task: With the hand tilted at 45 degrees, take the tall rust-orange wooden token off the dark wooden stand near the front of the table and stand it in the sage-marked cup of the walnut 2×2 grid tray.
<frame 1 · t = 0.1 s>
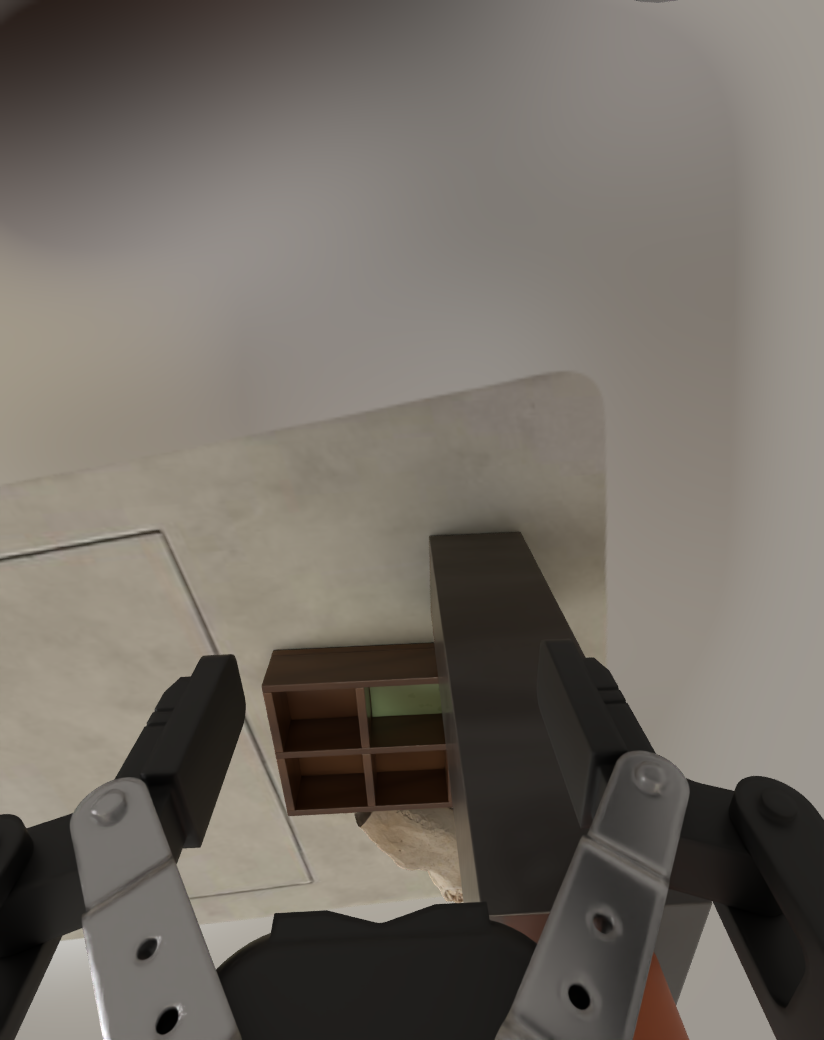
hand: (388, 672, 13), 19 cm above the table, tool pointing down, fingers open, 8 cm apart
grid: (368, 712, 39), on the table
bone fragment: (424, 819, 45), on the table
stand: (474, 573, 34), on the table
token: (585, 972, 14), point 22 cm above the table, touching stand
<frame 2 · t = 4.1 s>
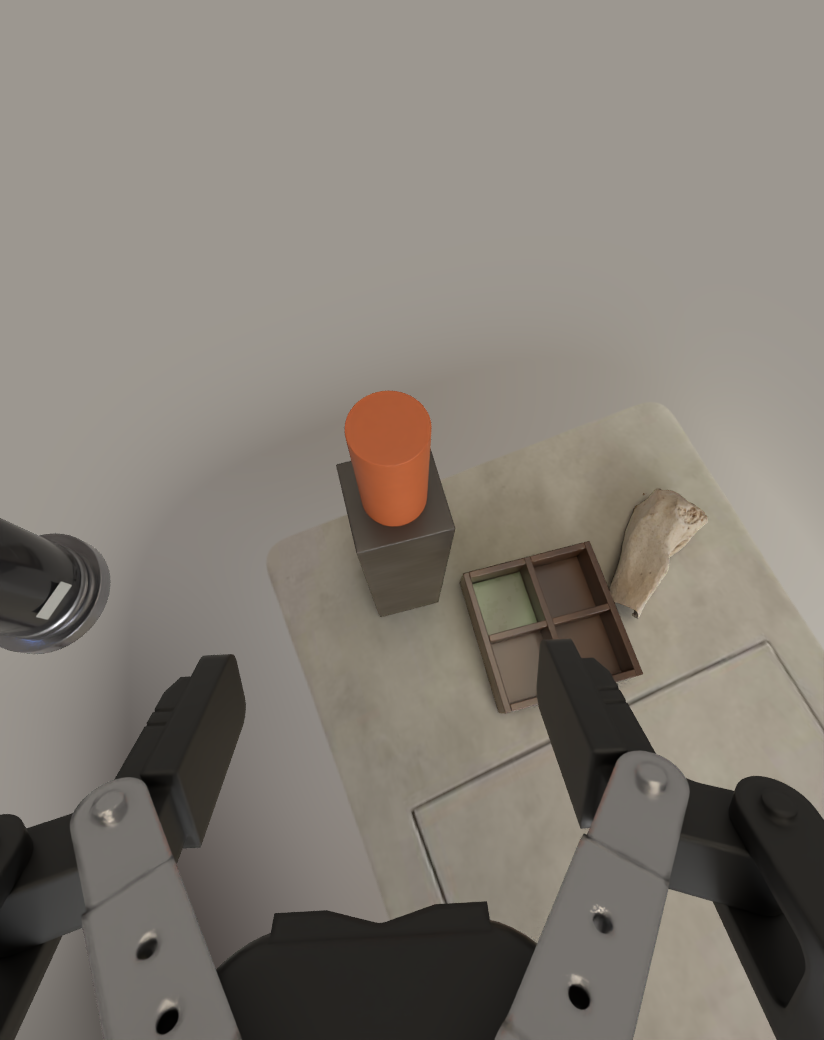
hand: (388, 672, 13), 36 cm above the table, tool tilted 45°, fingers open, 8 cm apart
grid: (540, 627, 50), on the table
bone fragment: (646, 558, 52), on the table
stand: (402, 581, 51), on the table
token: (394, 495, 31), point 22 cm above the table, touching stand
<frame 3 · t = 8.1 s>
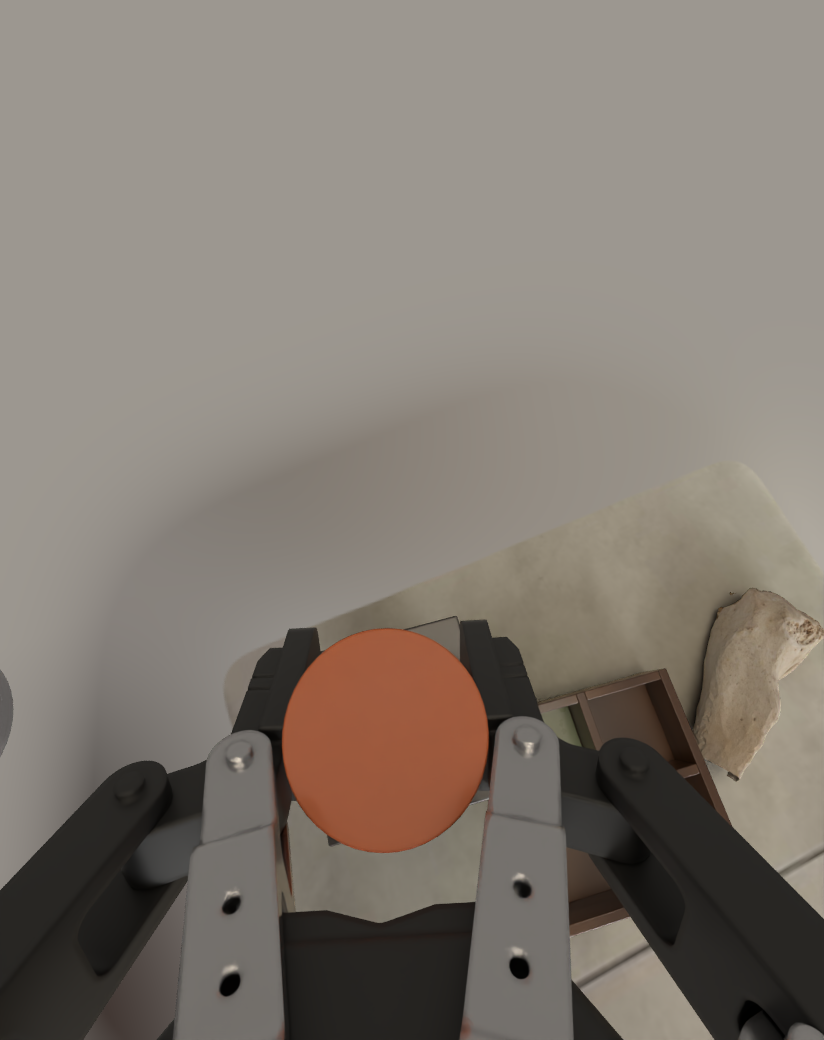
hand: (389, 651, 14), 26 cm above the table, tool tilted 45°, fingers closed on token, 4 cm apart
grid: (597, 785, 36), on the table
bone fragment: (736, 680, 39), on the table
stand: (406, 715, 38), on the table
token: (397, 722, 17), point 22 cm above the table, touching gripper, stand
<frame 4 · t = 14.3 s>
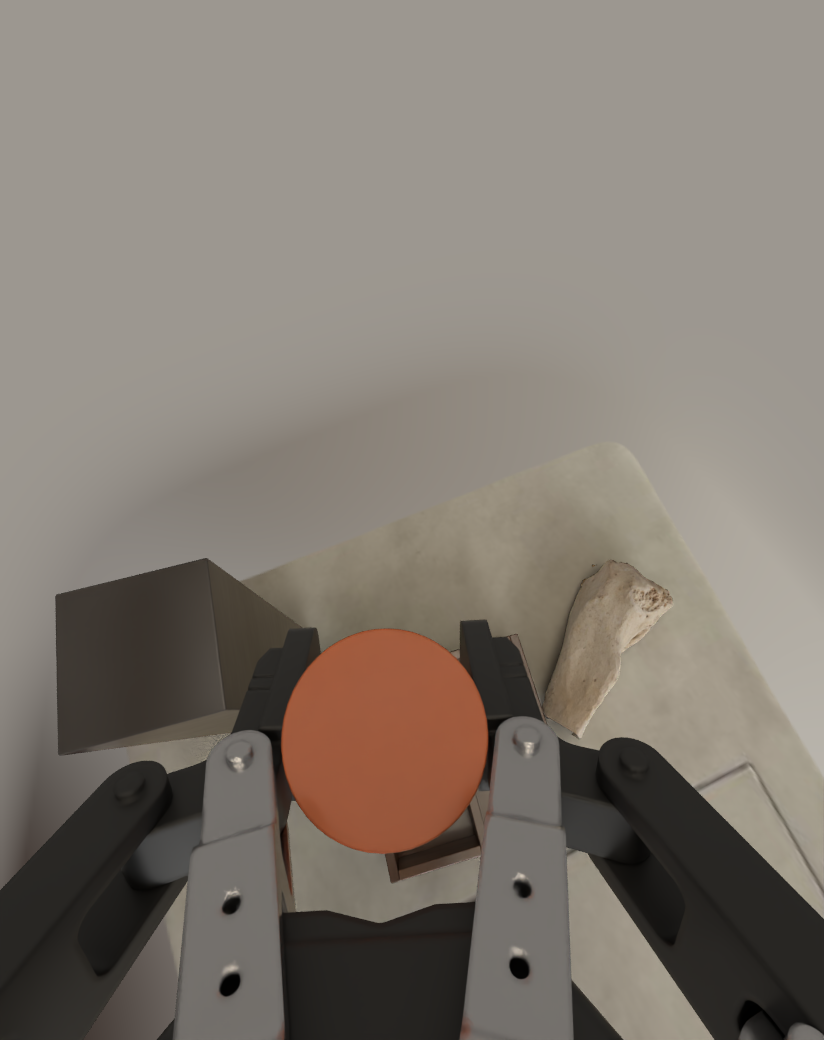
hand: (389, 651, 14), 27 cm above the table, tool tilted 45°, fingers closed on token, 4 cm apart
grid: (455, 745, 38), on the table
bone fragment: (596, 648, 41), on the table
stand: (279, 680, 40), on the table
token: (397, 723, 17), point 23 cm above the table, touching gripper
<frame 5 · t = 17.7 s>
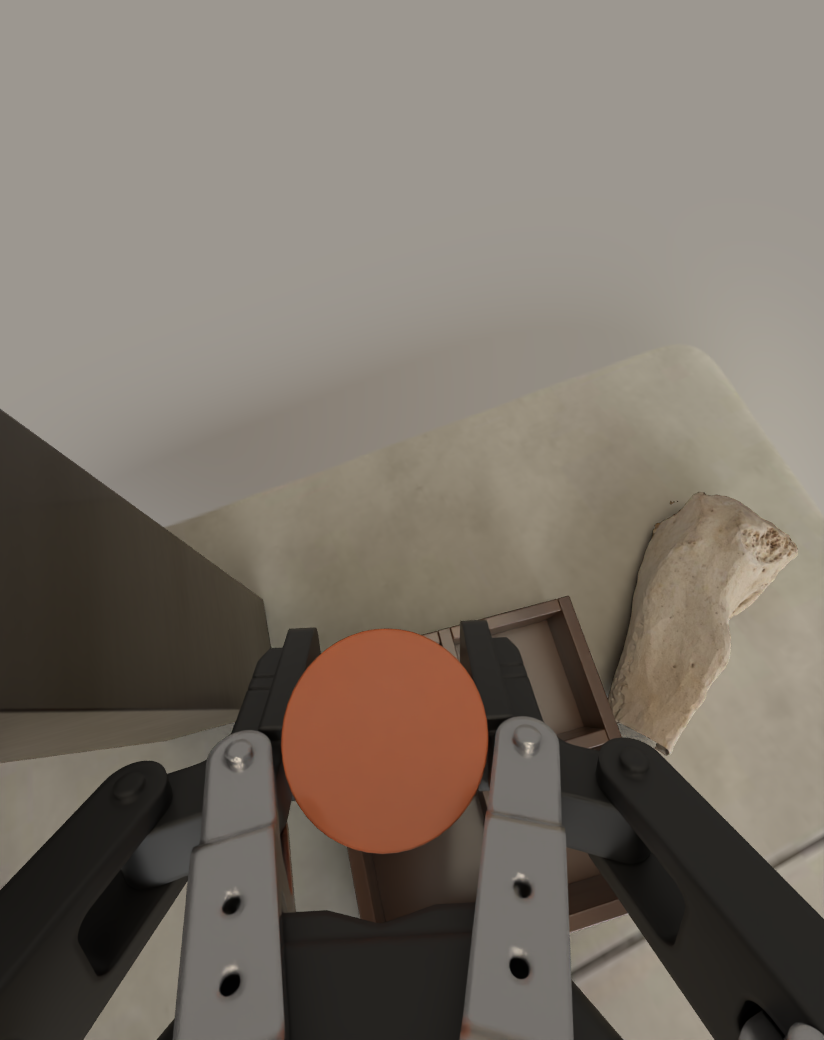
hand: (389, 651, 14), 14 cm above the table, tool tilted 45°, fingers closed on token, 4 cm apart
grid: (474, 763, 26), on the table
bone fragment: (677, 621, 28), on the table
stand: (216, 666, 27), on the table
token: (397, 723, 17), point 10 cm above the table, touching gripper
when the fingers open (5 cm above the table, at t = 20.5 s): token stays where it is, resting on grid.
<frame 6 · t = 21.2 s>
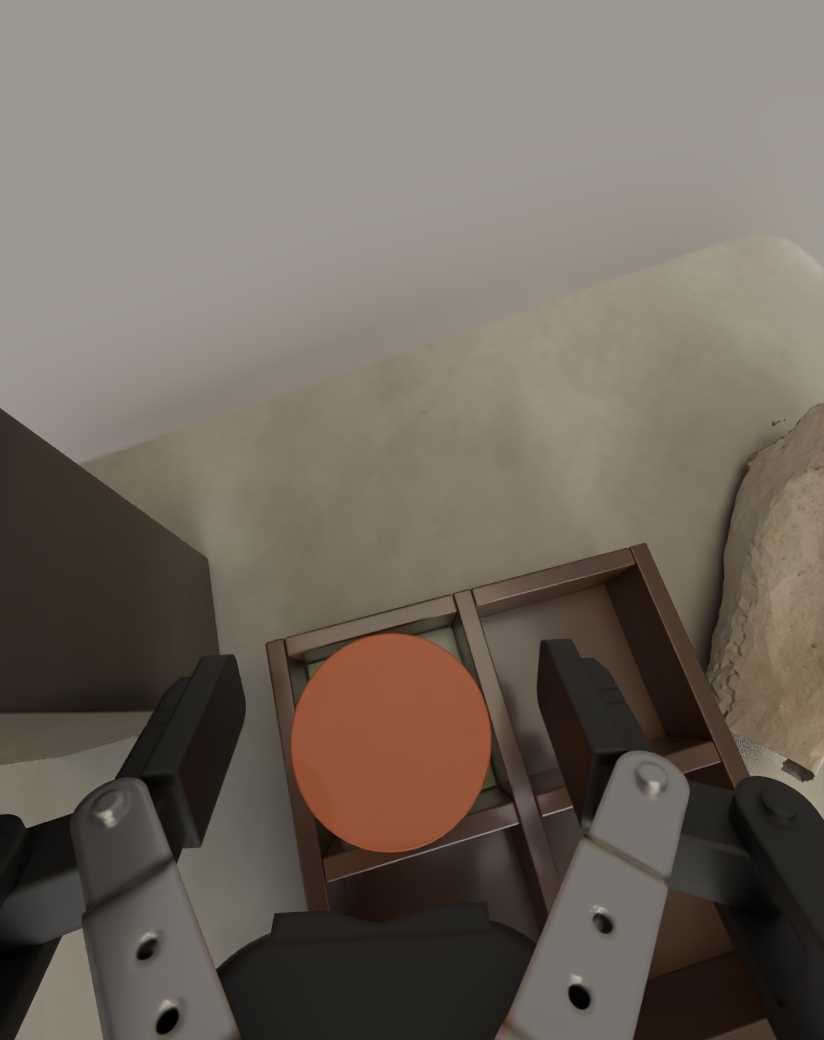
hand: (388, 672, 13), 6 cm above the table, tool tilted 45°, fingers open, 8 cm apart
grid: (505, 790, 18), on the table
bone fragment: (786, 587, 20), on the table
stand: (137, 651, 19), on the table
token: (401, 724, 18), point 1 cm above the table, touching grid
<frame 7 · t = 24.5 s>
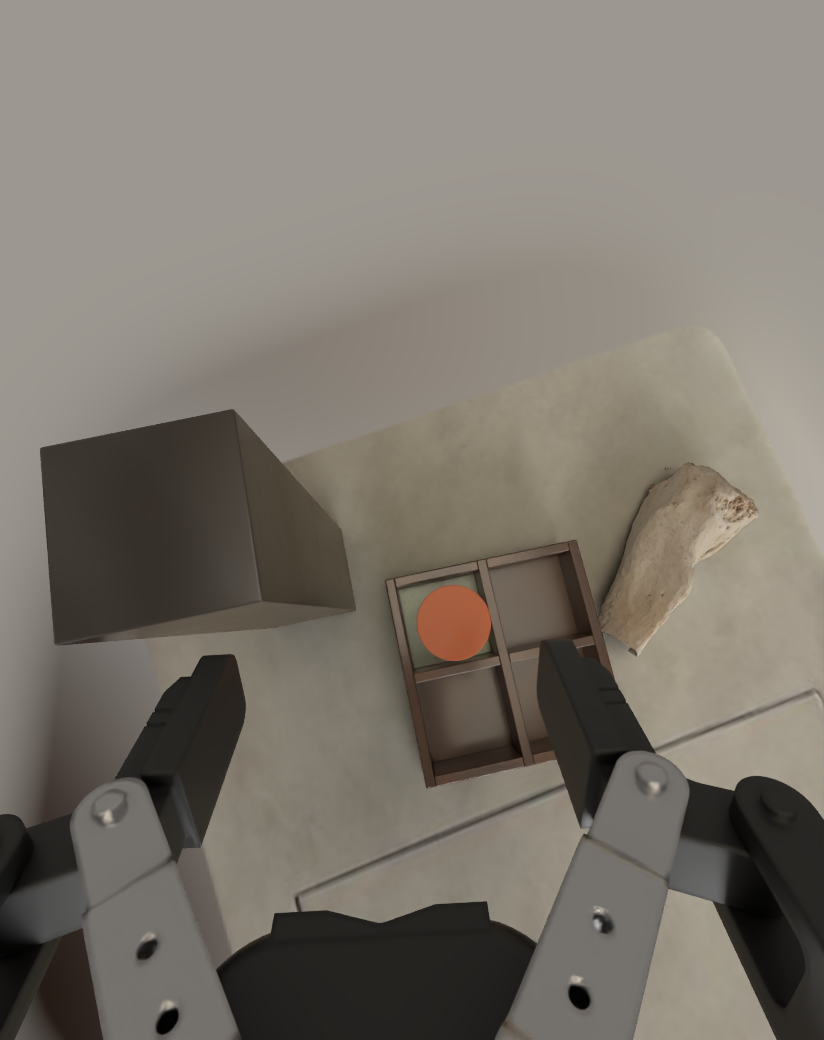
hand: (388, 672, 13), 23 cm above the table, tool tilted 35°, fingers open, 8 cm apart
grid: (496, 654, 35), on the table
bone fragment: (659, 561, 37), on the table
stand: (307, 577, 37), on the table
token: (445, 621, 35), point 1 cm above the table, touching grid
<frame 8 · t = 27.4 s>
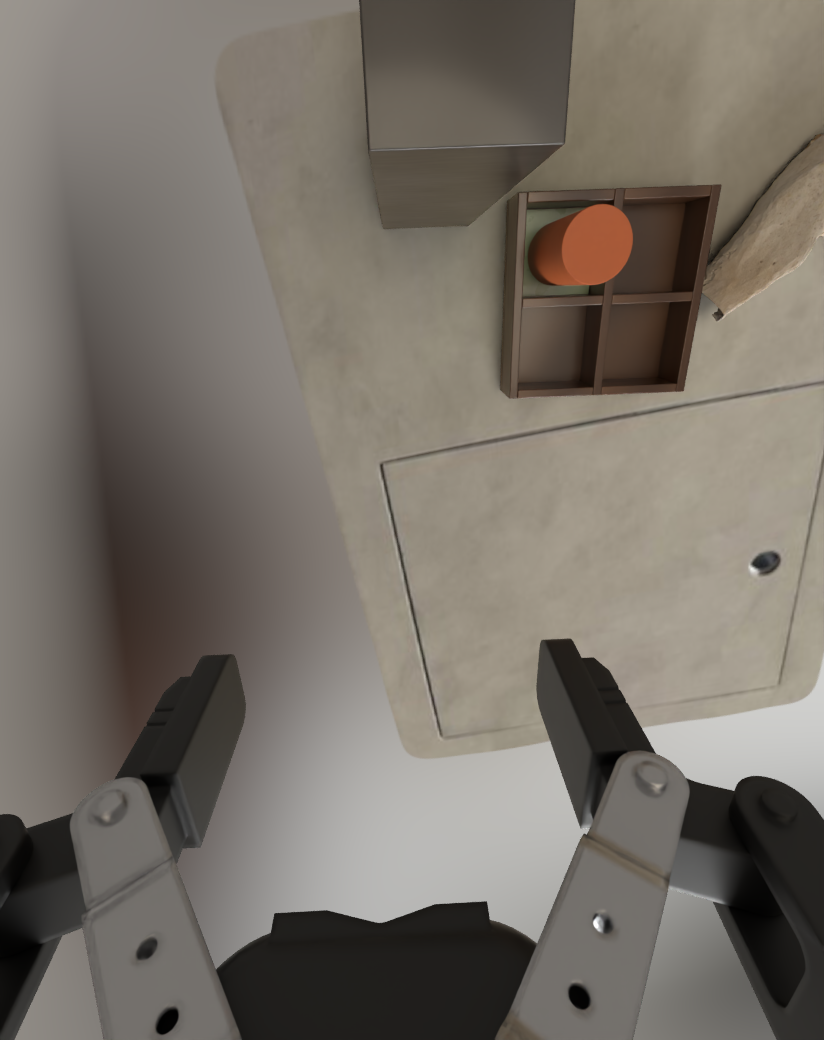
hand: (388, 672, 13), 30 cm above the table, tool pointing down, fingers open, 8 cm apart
grid: (589, 298, 38), on the table
bone fragment: (775, 231, 36), on the table
stand: (424, 176, 34), on the table
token: (555, 254, 36), point 1 cm above the table, touching grid
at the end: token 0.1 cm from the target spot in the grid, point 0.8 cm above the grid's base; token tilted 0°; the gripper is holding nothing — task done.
